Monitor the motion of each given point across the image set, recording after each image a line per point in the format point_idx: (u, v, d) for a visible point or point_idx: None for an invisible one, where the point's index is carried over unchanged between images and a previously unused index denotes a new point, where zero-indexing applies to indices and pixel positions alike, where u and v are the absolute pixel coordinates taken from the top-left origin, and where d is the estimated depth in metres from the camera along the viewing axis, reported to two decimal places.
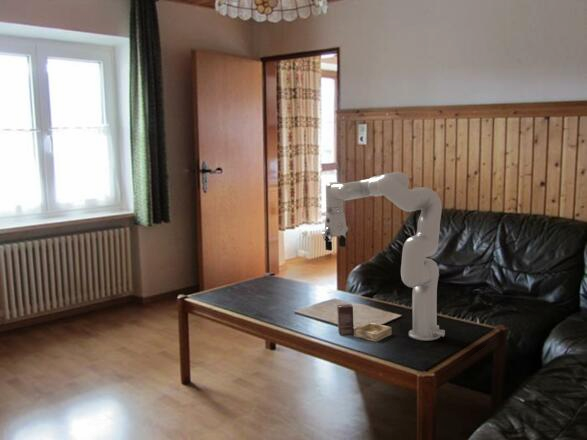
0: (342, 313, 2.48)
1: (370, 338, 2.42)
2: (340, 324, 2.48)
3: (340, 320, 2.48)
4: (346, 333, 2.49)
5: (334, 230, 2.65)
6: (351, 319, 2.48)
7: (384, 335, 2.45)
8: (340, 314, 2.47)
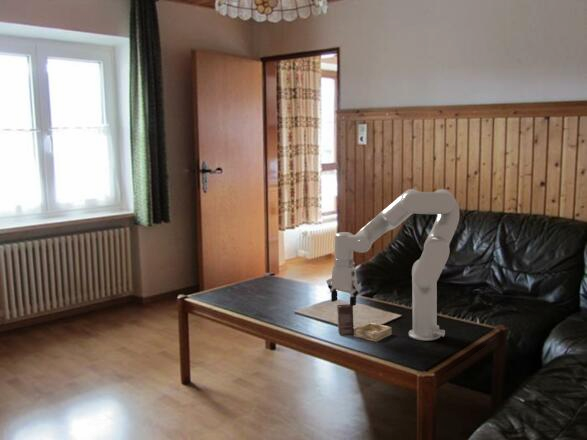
0: (342, 313, 2.48)
1: (370, 338, 2.42)
2: (340, 324, 2.48)
3: (340, 320, 2.48)
4: (346, 333, 2.49)
5: None
6: (351, 319, 2.48)
7: (384, 335, 2.45)
8: (340, 314, 2.47)
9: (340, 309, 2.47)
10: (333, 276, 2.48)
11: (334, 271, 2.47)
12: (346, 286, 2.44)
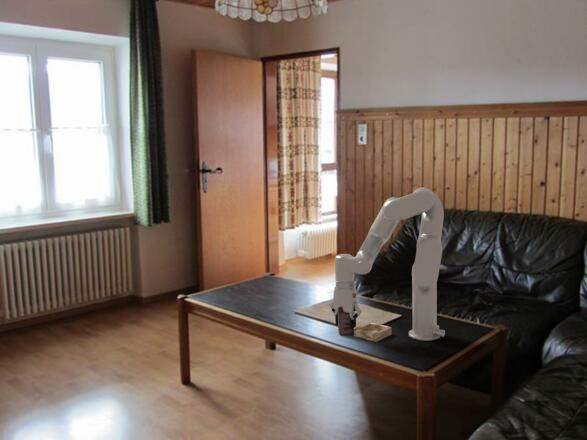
0: (342, 313, 2.48)
1: (370, 338, 2.42)
2: (340, 324, 2.48)
3: (340, 320, 2.48)
4: (346, 333, 2.49)
5: None
6: None
7: (384, 335, 2.45)
8: (340, 314, 2.48)
9: (340, 309, 2.47)
10: (334, 298, 2.50)
11: (335, 293, 2.49)
12: (348, 308, 2.46)
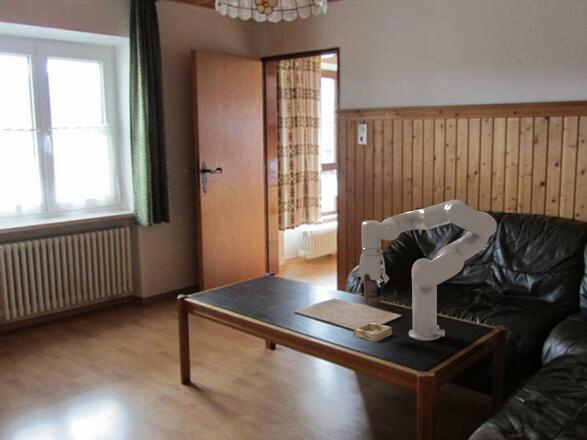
0: (368, 281, 2.42)
1: (370, 338, 2.42)
2: (366, 292, 2.43)
3: (366, 288, 2.43)
4: (372, 301, 2.43)
5: None
6: None
7: (384, 335, 2.45)
8: (366, 282, 2.42)
9: (366, 276, 2.42)
10: (361, 265, 2.44)
11: (362, 261, 2.43)
12: (375, 275, 2.40)
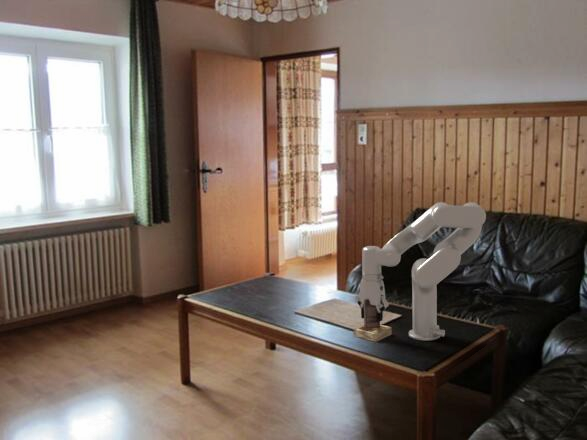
0: (368, 306, 2.44)
1: (370, 338, 2.42)
2: (366, 317, 2.44)
3: (366, 313, 2.44)
4: (372, 326, 2.45)
5: None
6: None
7: (384, 335, 2.45)
8: (366, 307, 2.44)
9: (367, 302, 2.44)
10: (361, 290, 2.46)
11: (362, 286, 2.45)
12: (375, 300, 2.42)
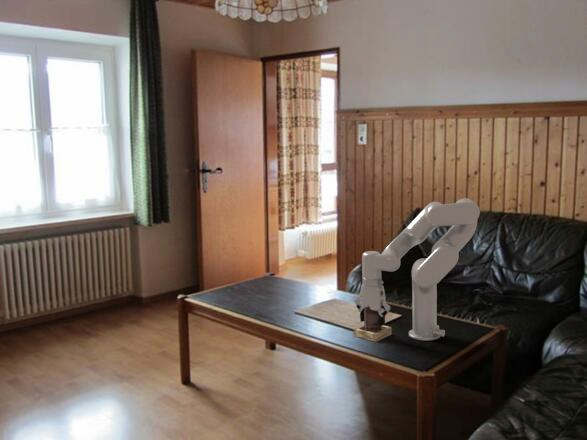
0: (369, 313, 2.44)
1: (370, 338, 2.42)
2: (367, 324, 2.45)
3: (367, 320, 2.45)
4: None
5: None
6: (378, 319, 2.45)
7: (384, 335, 2.45)
8: (367, 314, 2.44)
9: (367, 309, 2.44)
10: (361, 296, 2.46)
11: (362, 291, 2.45)
12: (375, 306, 2.42)
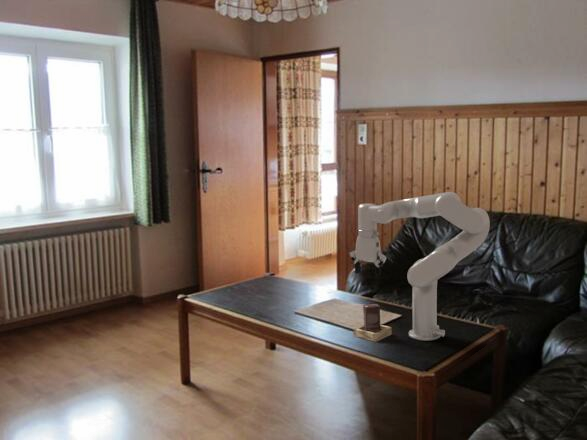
0: (369, 313, 2.44)
1: (370, 338, 2.42)
2: (367, 324, 2.45)
3: (367, 320, 2.45)
4: None
5: None
6: (378, 319, 2.45)
7: (384, 335, 2.45)
8: (367, 314, 2.44)
9: (367, 309, 2.44)
10: (357, 248, 2.50)
11: (358, 243, 2.49)
12: (371, 257, 2.46)
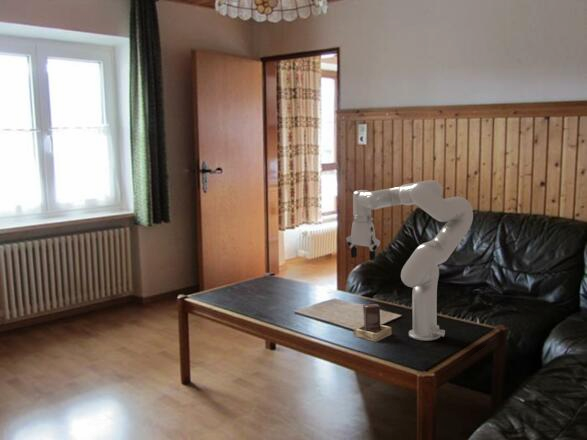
0: (369, 313, 2.44)
1: (370, 338, 2.42)
2: (367, 324, 2.45)
3: (367, 320, 2.45)
4: None
5: None
6: (378, 319, 2.45)
7: (384, 335, 2.45)
8: (367, 314, 2.44)
9: (367, 309, 2.44)
10: (352, 232, 2.60)
11: (353, 228, 2.59)
12: (365, 241, 2.56)
